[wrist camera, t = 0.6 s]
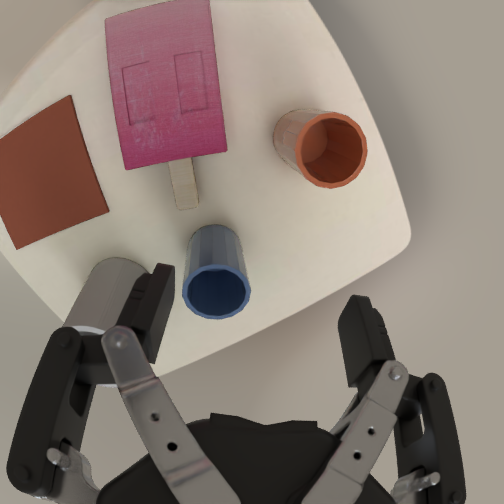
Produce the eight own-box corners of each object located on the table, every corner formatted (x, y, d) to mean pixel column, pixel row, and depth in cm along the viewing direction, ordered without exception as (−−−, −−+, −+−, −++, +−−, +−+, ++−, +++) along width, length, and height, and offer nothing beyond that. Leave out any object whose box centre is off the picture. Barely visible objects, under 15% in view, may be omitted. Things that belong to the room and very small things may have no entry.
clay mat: (-19, 155, 22) (-21, 156, 22) (71, 94, 22) (69, 94, 22) (17, 248, 29) (16, 250, 29) (109, 211, 29) (108, 212, 29)
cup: (154, 321, 37) (142, 393, 27) (92, 309, 35) (65, 376, 25) (159, 264, 33) (141, 336, 23) (88, 252, 31) (48, 316, 21)
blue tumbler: (180, 232, 32) (172, 274, 24) (233, 218, 32) (241, 256, 24) (197, 277, 35) (195, 325, 27) (246, 264, 35) (256, 310, 27)
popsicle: (231, 193, 30) (209, 10, 21) (235, 209, 26) (208, -6, 16) (147, 207, 30) (118, 30, 20) (137, 225, 26) (103, 18, 16)
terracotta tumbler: (267, 115, 27) (288, 119, 19) (323, 105, 27) (362, 108, 19) (279, 171, 30) (302, 195, 22) (332, 159, 30) (370, 180, 22)
